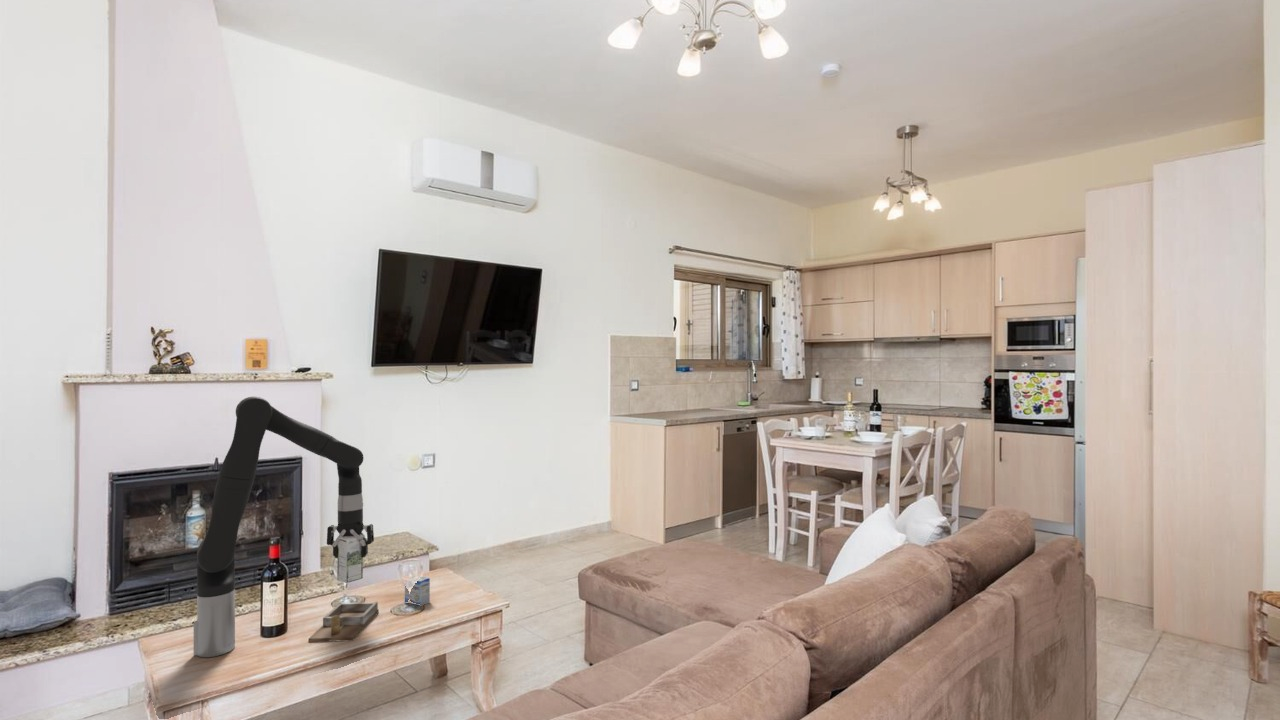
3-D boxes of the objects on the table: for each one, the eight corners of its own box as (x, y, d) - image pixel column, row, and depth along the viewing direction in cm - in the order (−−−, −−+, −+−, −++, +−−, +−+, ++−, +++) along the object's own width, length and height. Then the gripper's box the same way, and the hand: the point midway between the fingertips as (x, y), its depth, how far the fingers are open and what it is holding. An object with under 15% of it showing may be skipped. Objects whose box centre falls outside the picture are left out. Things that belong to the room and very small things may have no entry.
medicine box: (404, 602, 220) (404, 578, 221) (414, 598, 224) (414, 574, 224) (420, 606, 217) (420, 581, 217) (430, 602, 221) (430, 577, 221)
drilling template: (308, 641, 189) (308, 622, 189) (339, 613, 211) (339, 595, 211) (352, 640, 190) (352, 620, 190) (378, 612, 212) (378, 594, 212)
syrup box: (353, 575, 209) (353, 531, 209) (363, 578, 206) (363, 534, 206) (337, 580, 204) (336, 535, 205) (346, 583, 201) (346, 538, 201)
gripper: (322, 510, 201) (323, 561, 201) (368, 509, 202) (368, 560, 202) (332, 505, 209) (333, 554, 209) (376, 504, 210) (376, 553, 209)
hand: (350, 557), depth 205 cm, fingers closed on syrup box, 8 cm apart
